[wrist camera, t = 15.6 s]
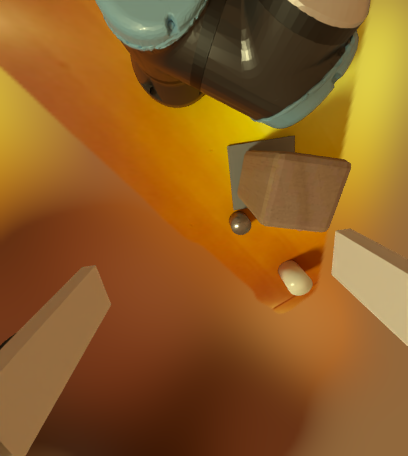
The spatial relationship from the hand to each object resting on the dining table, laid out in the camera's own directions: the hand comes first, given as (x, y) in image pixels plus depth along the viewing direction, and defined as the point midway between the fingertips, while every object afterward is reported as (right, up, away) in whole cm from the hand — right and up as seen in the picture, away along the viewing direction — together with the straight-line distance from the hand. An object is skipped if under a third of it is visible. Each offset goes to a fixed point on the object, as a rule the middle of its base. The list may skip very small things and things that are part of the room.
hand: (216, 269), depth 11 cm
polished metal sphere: (+8, +4, +38) cm, 39 cm away
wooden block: (+12, +14, +34) cm, 39 cm away
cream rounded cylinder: (+22, -9, +43) cm, 49 cm away
